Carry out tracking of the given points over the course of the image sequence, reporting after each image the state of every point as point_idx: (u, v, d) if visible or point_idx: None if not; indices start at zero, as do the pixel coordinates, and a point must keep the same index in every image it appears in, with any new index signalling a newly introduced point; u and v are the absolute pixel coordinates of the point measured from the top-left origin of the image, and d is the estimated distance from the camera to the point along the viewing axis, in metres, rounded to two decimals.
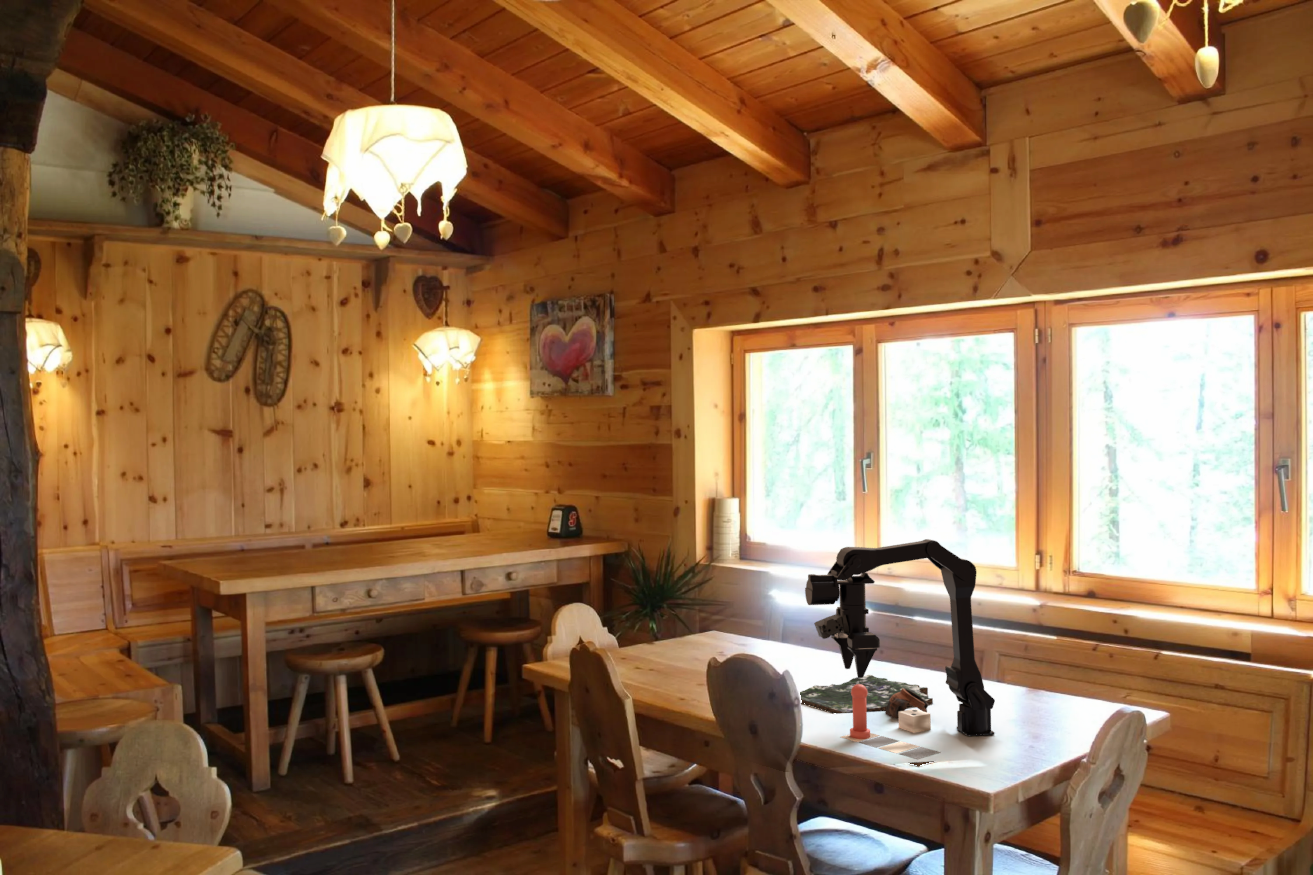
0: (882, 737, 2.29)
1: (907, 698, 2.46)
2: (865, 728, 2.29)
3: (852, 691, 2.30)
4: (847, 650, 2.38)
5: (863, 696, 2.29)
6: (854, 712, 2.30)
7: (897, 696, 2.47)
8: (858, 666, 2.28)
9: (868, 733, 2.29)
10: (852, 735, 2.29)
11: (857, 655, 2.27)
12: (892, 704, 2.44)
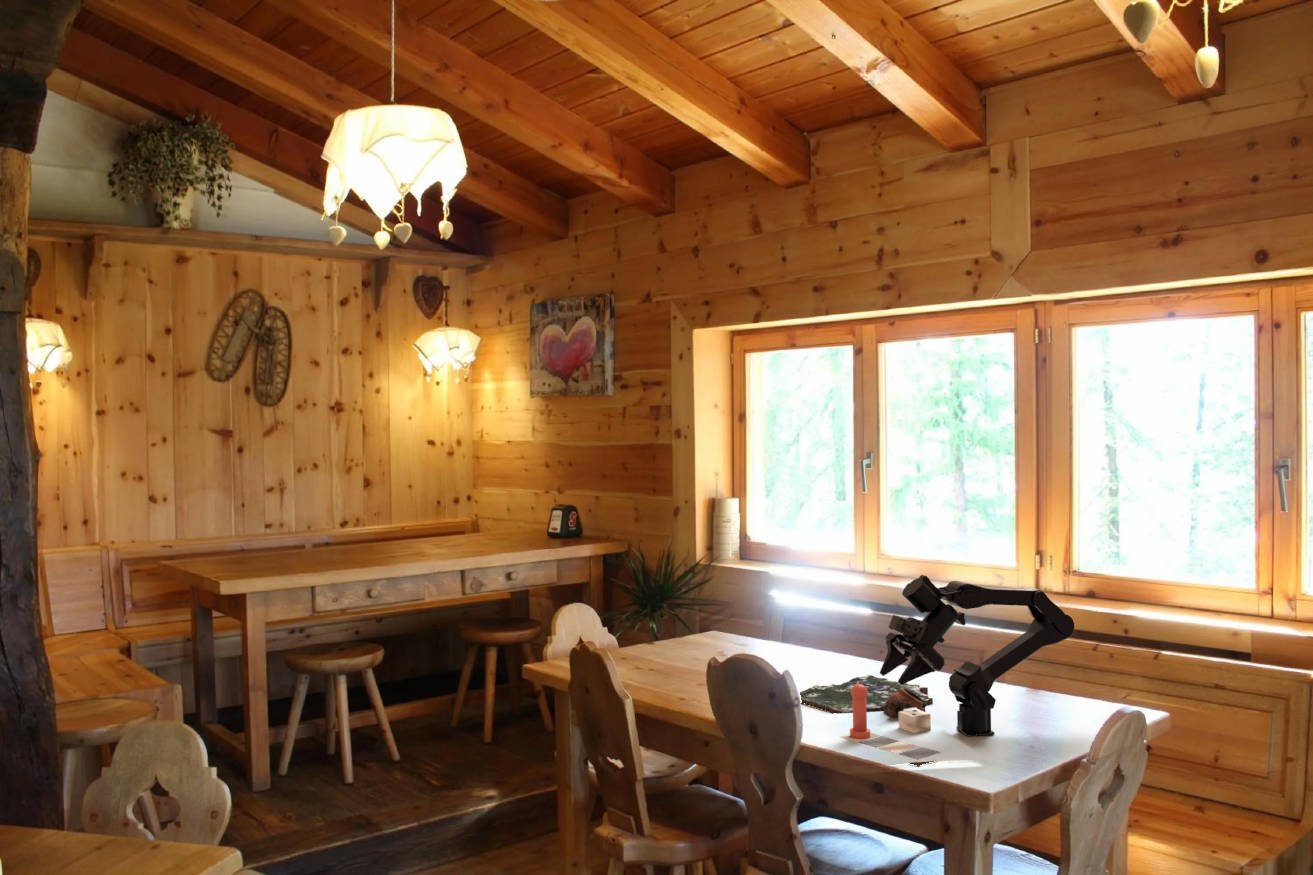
0: (882, 737, 2.29)
1: (905, 697, 2.47)
2: (865, 728, 2.29)
3: (852, 691, 2.30)
4: (892, 660, 2.38)
5: (863, 696, 2.29)
6: (854, 712, 2.30)
7: (896, 696, 2.48)
8: (907, 672, 2.27)
9: (868, 733, 2.29)
10: (852, 735, 2.29)
11: (915, 663, 2.27)
12: (891, 704, 2.44)
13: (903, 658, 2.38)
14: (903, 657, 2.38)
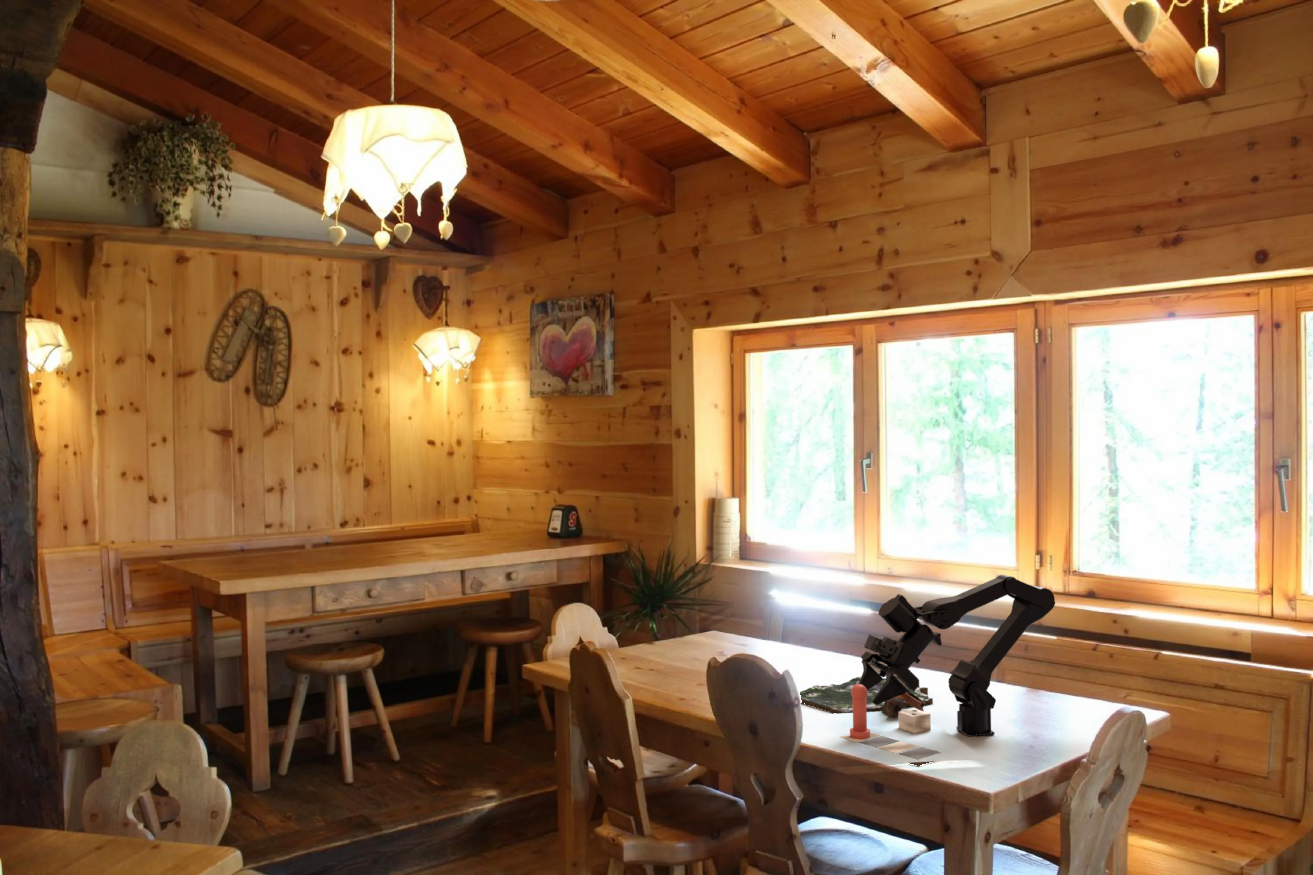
0: (882, 737, 2.29)
1: (903, 697, 2.47)
2: (865, 728, 2.29)
3: (852, 691, 2.30)
4: (868, 680, 2.36)
5: (863, 696, 2.29)
6: (854, 712, 2.30)
7: None
8: (881, 693, 2.26)
9: (868, 733, 2.29)
10: (852, 735, 2.29)
11: (889, 683, 2.25)
12: (889, 703, 2.45)
13: (879, 678, 2.37)
14: (879, 677, 2.37)
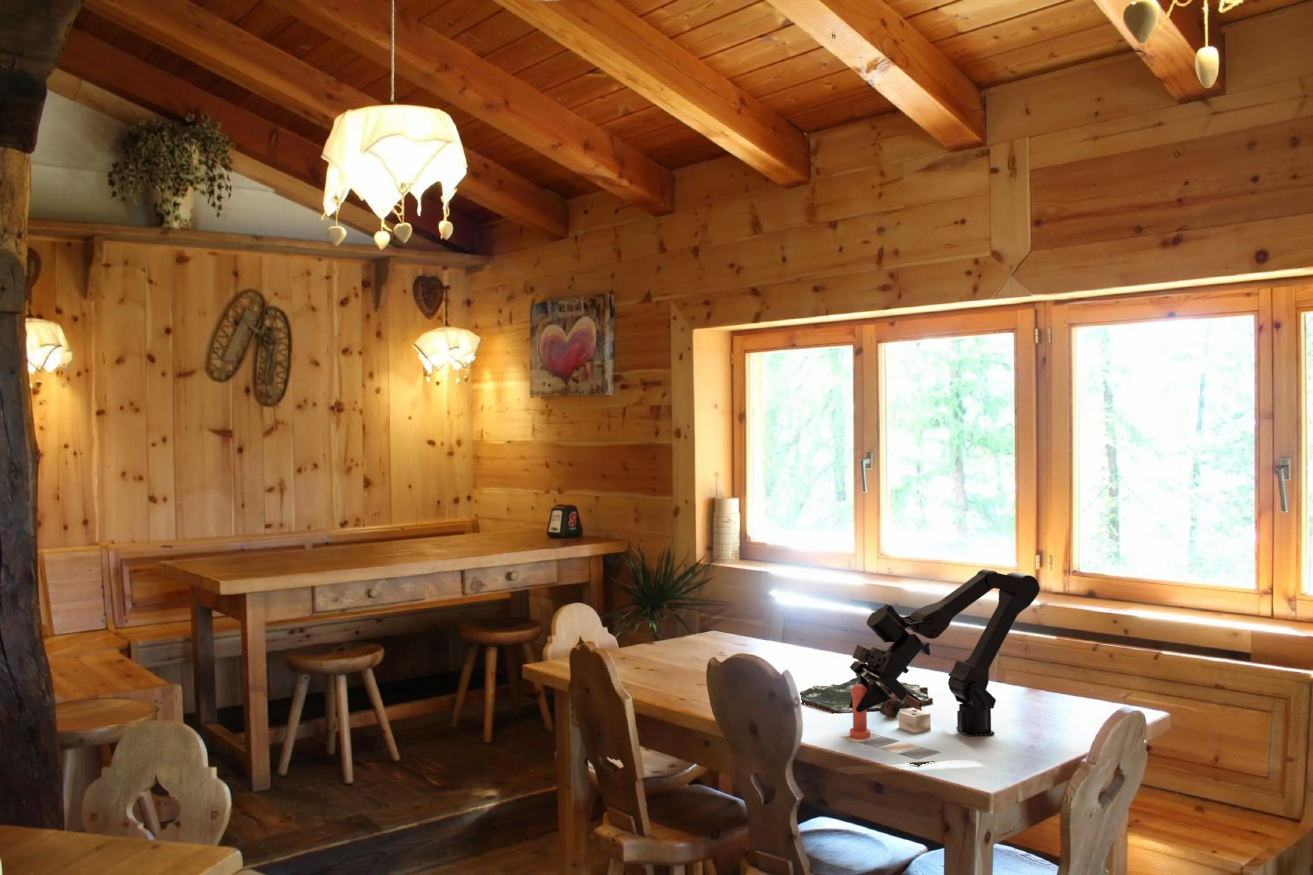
0: (882, 737, 2.29)
1: None
2: (865, 728, 2.29)
3: (852, 691, 2.30)
4: None
5: None
6: (854, 712, 2.30)
7: (892, 695, 2.49)
8: (864, 700, 2.28)
9: (868, 733, 2.29)
10: (852, 735, 2.29)
11: (872, 691, 2.27)
12: (887, 703, 2.45)
13: None
14: None
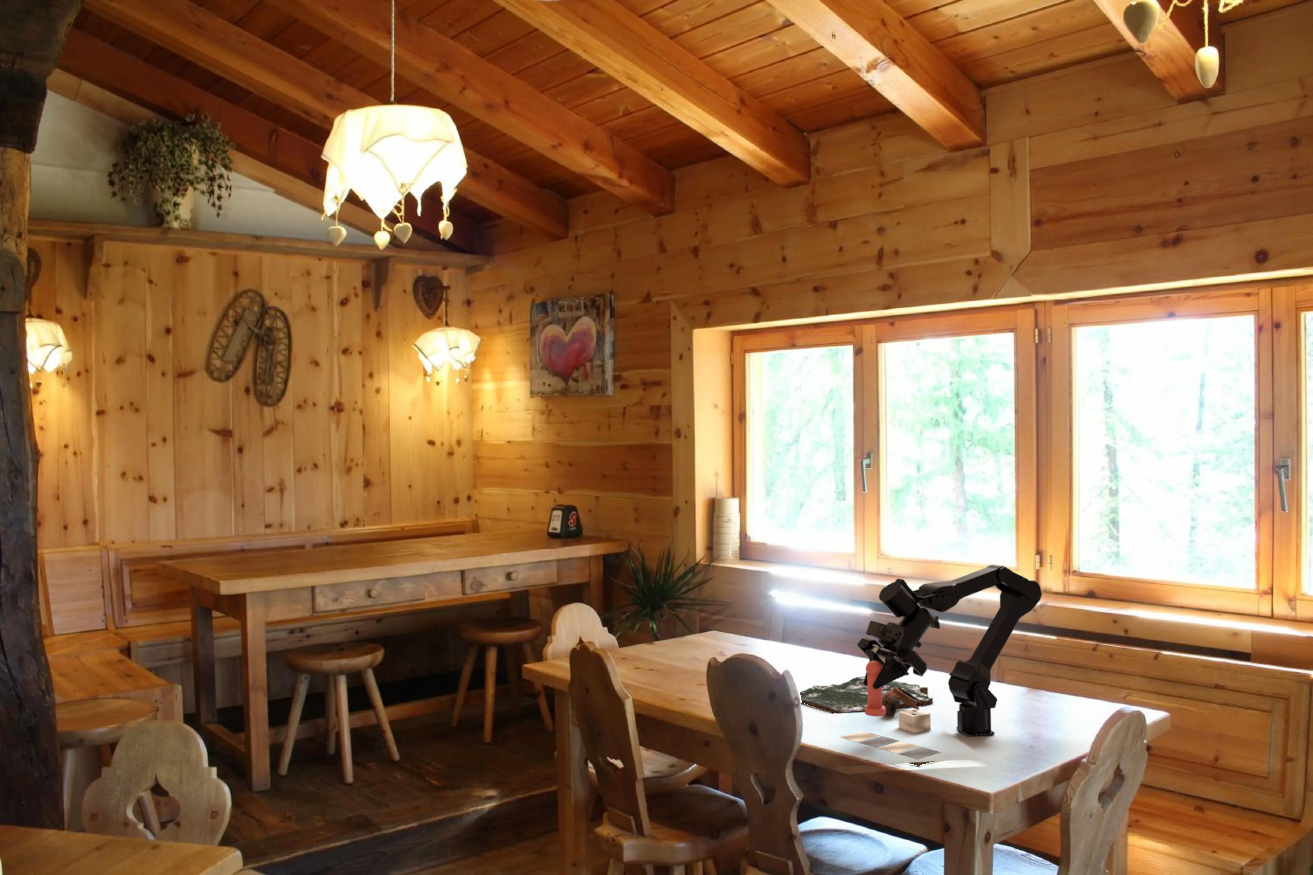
0: (882, 737, 2.29)
1: (899, 696, 2.48)
2: (881, 705, 2.25)
3: (868, 668, 2.25)
4: None
5: (879, 672, 2.25)
6: (870, 689, 2.25)
7: (890, 694, 2.49)
8: (881, 677, 2.24)
9: (884, 710, 2.25)
10: (868, 713, 2.25)
11: (889, 667, 2.24)
12: (885, 702, 2.46)
13: None
14: None
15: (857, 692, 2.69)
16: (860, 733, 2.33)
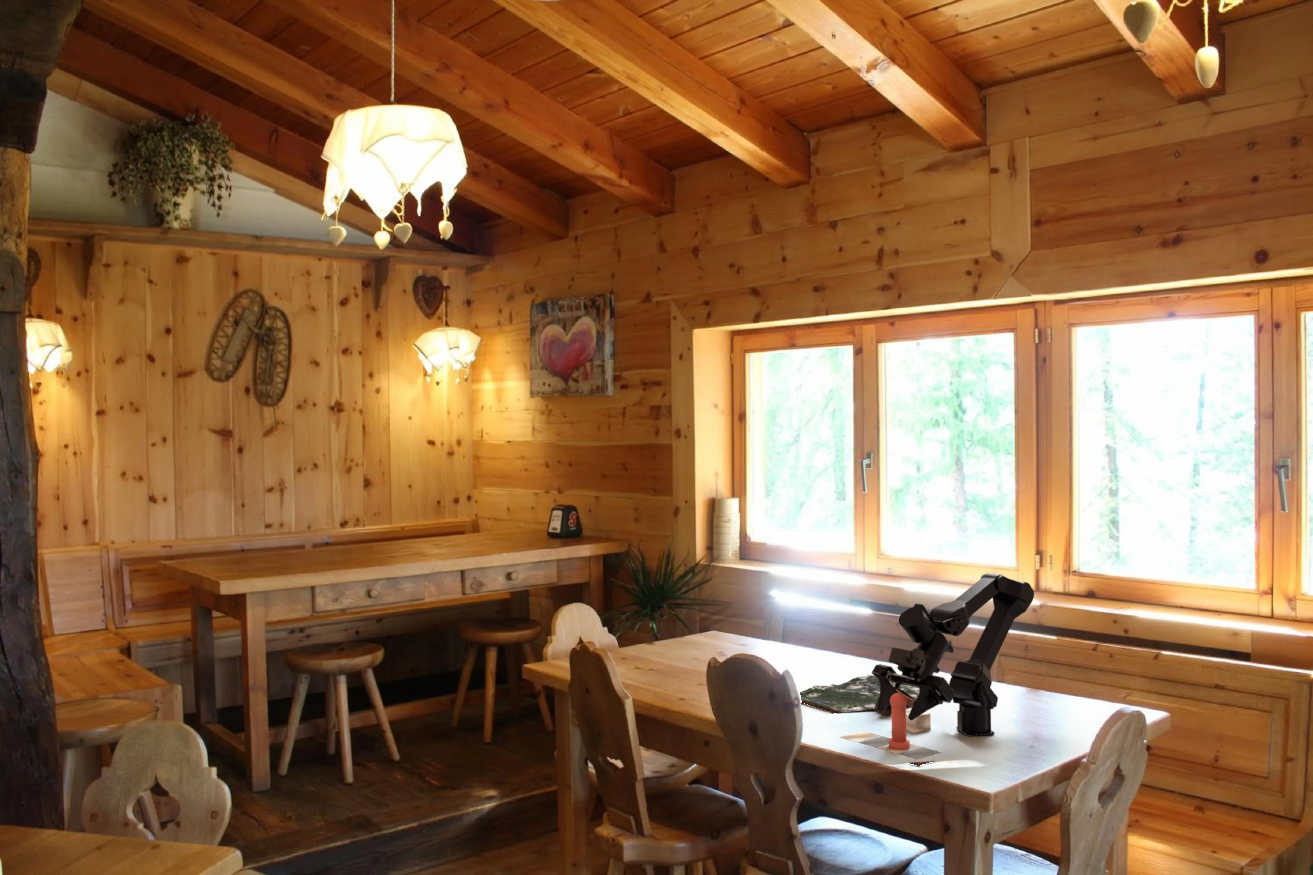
0: (882, 737, 2.29)
1: None
2: None
3: (893, 701, 2.21)
4: (887, 695, 2.26)
5: (905, 705, 2.20)
6: (895, 722, 2.20)
7: None
8: (917, 707, 2.17)
9: (909, 743, 2.21)
10: (894, 747, 2.20)
11: (925, 696, 2.18)
12: None
13: (895, 692, 2.28)
14: (895, 690, 2.28)
15: (857, 693, 2.69)
16: (860, 733, 2.33)
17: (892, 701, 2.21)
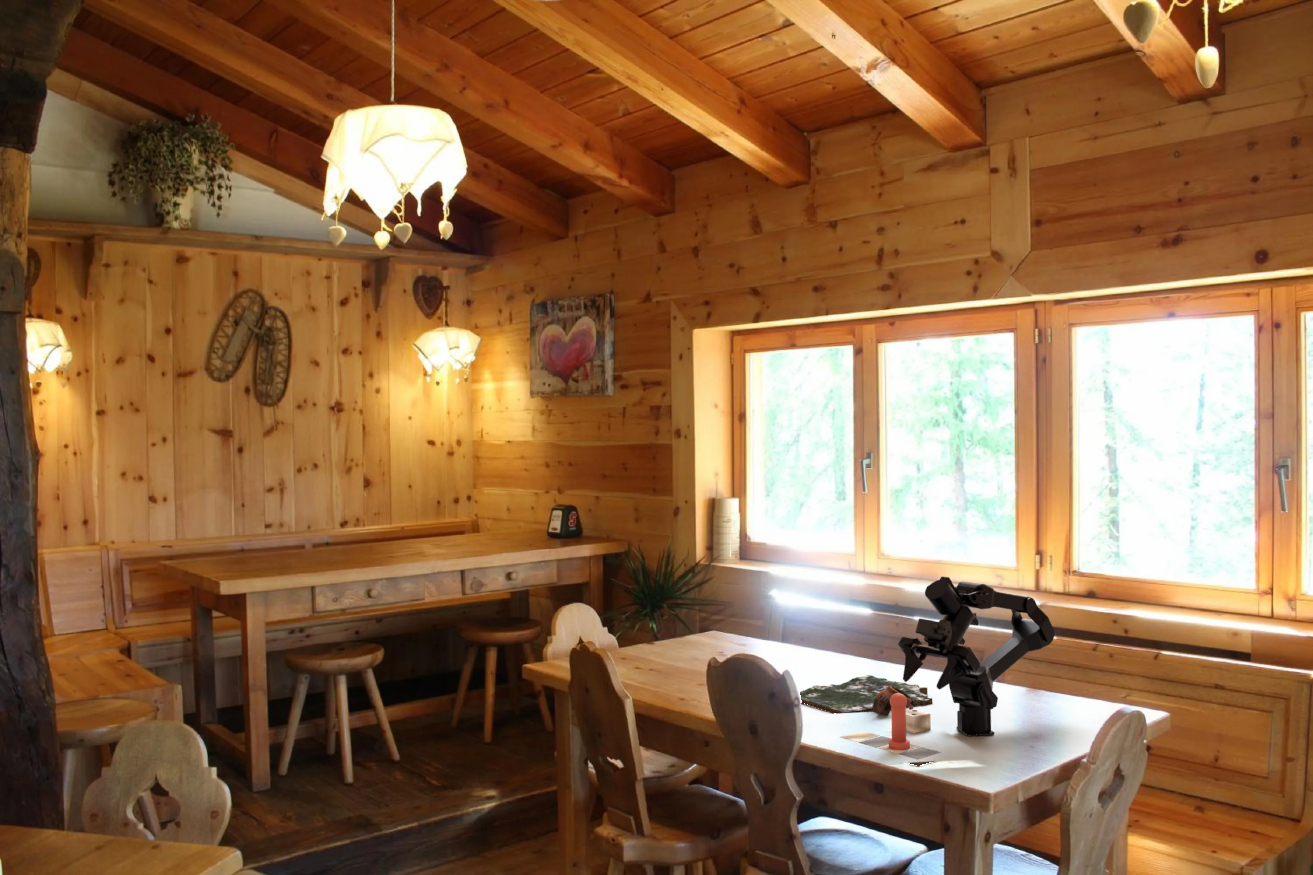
0: (882, 737, 2.29)
1: None
2: (905, 738, 2.21)
3: (893, 701, 2.21)
4: (912, 665, 2.32)
5: (905, 705, 2.20)
6: (895, 722, 2.20)
7: (884, 693, 2.51)
8: (945, 676, 2.22)
9: (909, 743, 2.21)
10: (894, 747, 2.20)
11: (953, 666, 2.23)
12: (880, 701, 2.47)
13: (919, 662, 2.34)
14: (919, 661, 2.34)
15: (856, 692, 2.69)
16: (860, 733, 2.33)
17: (892, 701, 2.21)
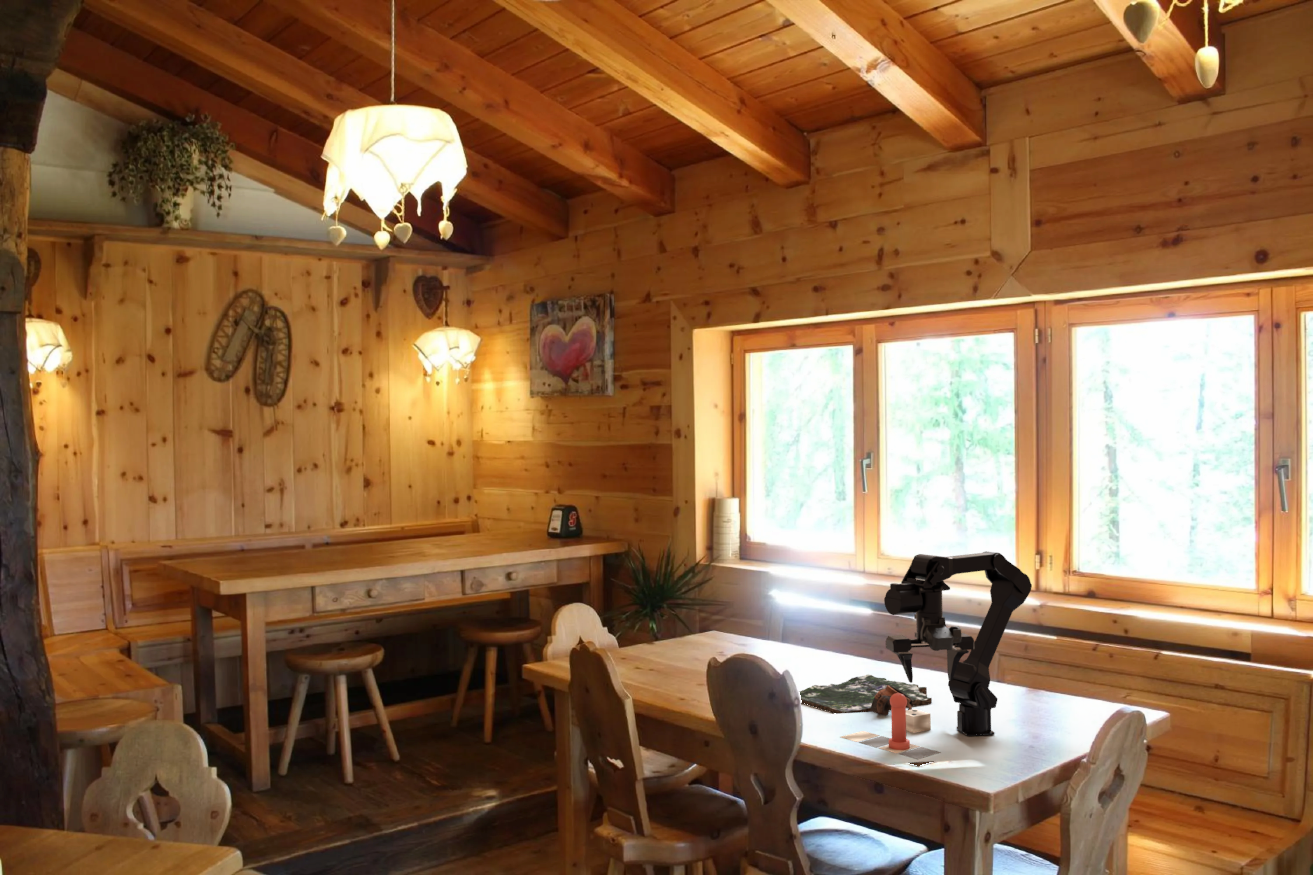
0: (882, 737, 2.29)
1: None
2: (905, 738, 2.21)
3: (893, 701, 2.21)
4: None
5: (905, 705, 2.20)
6: (895, 722, 2.20)
7: (883, 693, 2.51)
8: None
9: (909, 743, 2.21)
10: (894, 747, 2.20)
11: None
12: (879, 701, 2.47)
13: None
14: None
15: (856, 692, 2.69)
16: (860, 733, 2.33)
17: (892, 701, 2.21)
